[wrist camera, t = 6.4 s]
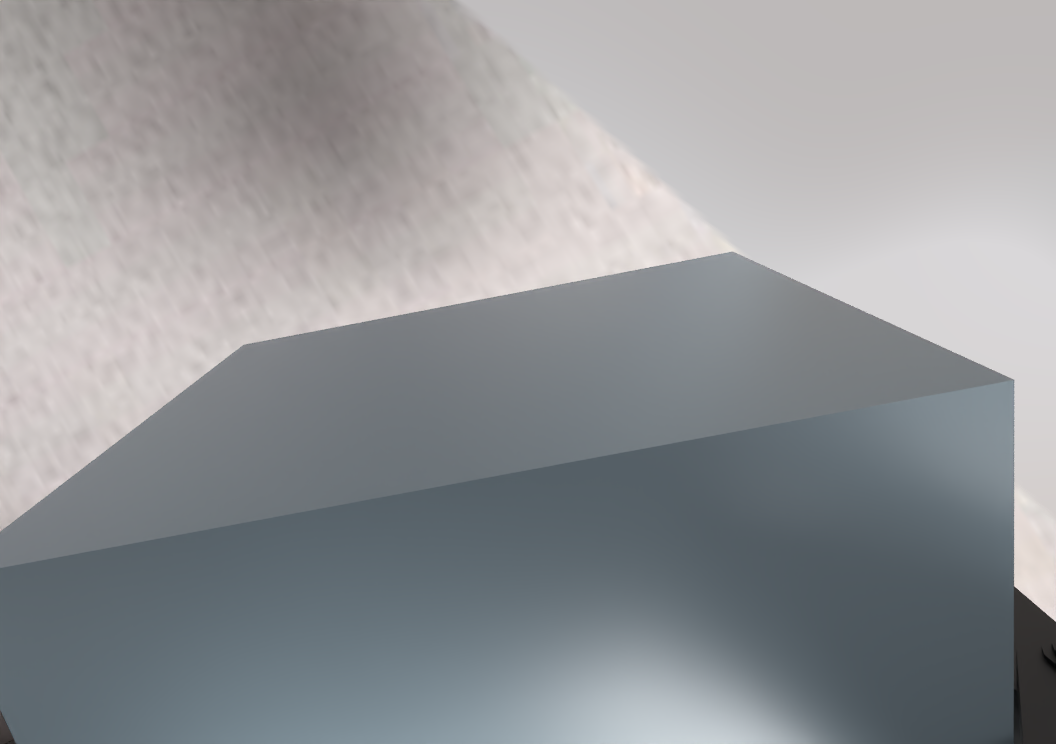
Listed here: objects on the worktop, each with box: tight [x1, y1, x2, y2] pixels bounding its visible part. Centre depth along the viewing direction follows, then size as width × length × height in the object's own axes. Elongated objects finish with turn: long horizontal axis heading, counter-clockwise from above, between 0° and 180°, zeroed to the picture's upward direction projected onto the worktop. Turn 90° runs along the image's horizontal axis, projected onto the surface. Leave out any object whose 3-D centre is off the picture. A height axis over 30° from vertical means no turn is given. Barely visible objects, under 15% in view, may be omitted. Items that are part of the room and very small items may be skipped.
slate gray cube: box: [0, 252, 1014, 744], centre depth 13 cm, size 10×10×9 cm
